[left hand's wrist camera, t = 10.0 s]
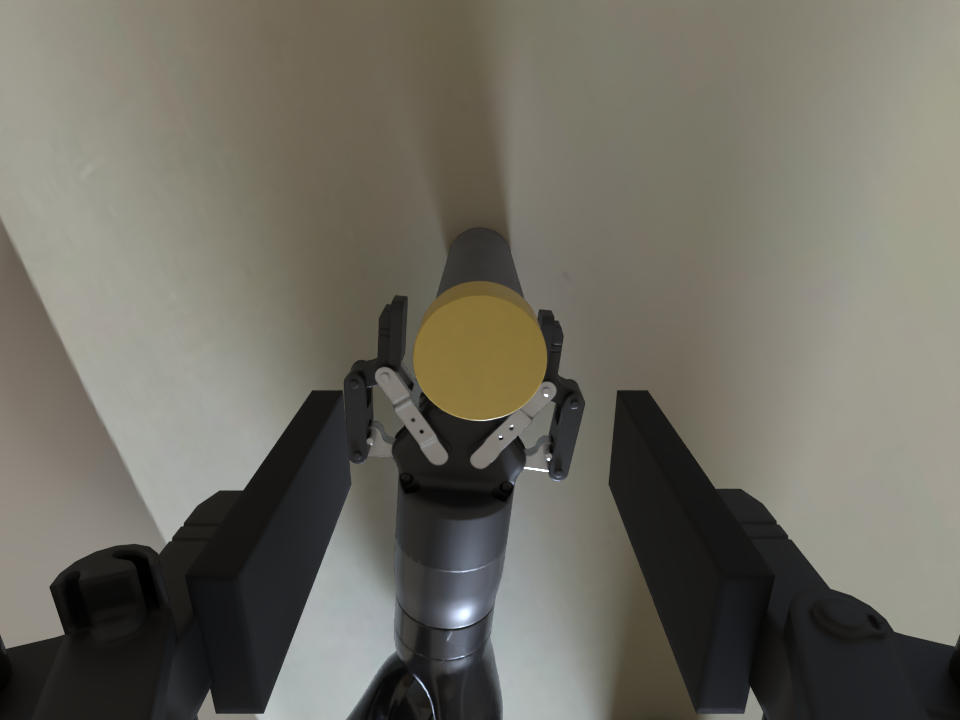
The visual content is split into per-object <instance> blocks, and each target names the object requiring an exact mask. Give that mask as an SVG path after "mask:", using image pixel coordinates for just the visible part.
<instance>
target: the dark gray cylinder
mask: <svg viewBox="0 0 960 720" xmlns="http://www.w3.org/2000/svg"><path fill="white" fill-rule="evenodd" d="M473 281H487V282H493V283H497V284H501V285H503V286H506V287H508V288H510V289H512V290H513V291H515V292H516V293H518V294H519V295H520V296H521V297H523V298H524V296H523V292H522V289H521V286H520V282H519V279H518V275H517V272H516V269H515V265H514V262H513V258H512V255H511V252H510V249H509V246H508V244H507V242H506V241H505V240H504V238H503V237H502V236H500V235H499V234H498V233H496V232H495V231H493V230H490V229H486V228H474V229H470V230H467V231H465V232H464V233H462V234H461V235H459V236H458V237H457V238H456V240H455V241H454V242H453V244H452V246H451V248H450V252H449V255H448V259H447V262H446V265H445V269H444V272H443V276H442V279H441V282H440V286H439V289H438V293H437V296H436V298H437V297H439V296H440V295H441V294H442V293H444V292H445V291H447V290H448V289H450V288H452V287H454V286H457V285H459V284H462V283H467V282H473Z"/></svg>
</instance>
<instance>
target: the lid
mask: <svg viewBox="0 0 960 720" xmlns="http://www.w3.org/2000/svg"><path fill="white" fill-rule="evenodd" d="M413 366H414V371H415V375H416V378H417V380H418V383H419V385H420V387H421V388H422V390H423V392H424V393H425V394H426V396H427V397H428V398H429V399H430V400H431V401H432V402H433V403H434V404H435V405H437V406H438V407H439V408H441V409H442V410H444V411H445V412H447V413H449V414H451V415H454V416H456V417H459V418H463V419H468V420H478V421H483V420H492V419H497V418H501V417H504V416H506V415H509V414H511V413H513V412H515V411H516V410H518V409H519V408H521V407H522V406H523V405H525V404H526V403H527V402H528V401H529V400H530V399H531V398H532V397H533V396H534V394H535V393H536V391H537V390H538V388H539V387H540V385H541V383H542V380H543V378H544V375H545V371H546V366H547V349H546V344H545V340H544V337H543V334H542V331H541V328H540V325H539V322H538V320H537V317H536V315H535V313H534V311H533V309H532V308H531V307H530V305H529V304H528V303H527V302H526V300H525V299H524V298H523V297H521V296H520V295H519V294H518V293H516V292H515V291H513V290H512V289H510V288H508V287H506V286H503V285H501V284H497V283H493V282H487V281H473V282H467V283H462V284H459V285H457V286H454V287H452V288H450V289H448V290H447V291H445V292H444V293H442V294H441V295H440V296H439V297H437V298H436V299H435V300H434V301H433V303H432V304H431V305H430V306H429V308H428V309H427V311H426V313H425V315H424V317H423V319H422V322H421V325H420V328H419V331H418V334H417V337H416V340H415V344H414V349H413Z"/></svg>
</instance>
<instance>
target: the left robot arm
mask: <svg viewBox="0 0 960 720" xmlns="http://www.w3.org/2000/svg"><path fill="white" fill-rule="evenodd" d="M350 486H351V475H350V464H349V453H348V442H347V431H346V421H345V410H344V399H343V390H312V392H311V393H310V395H309V396H308V398H307V399H306V401H305V402H304V403H303V405H302V406H301V408H300V409H299V411H298V412H297V414H296V415H295V416H294V418H293V419H292V421H291V422H290V424H289V425H288V427H287V428H286V429H285V431H284V432H283V434H282V435H281V437H280V438H279V440H278V441H277V442H276V444H275V445H274V447H273V448H272V450H271V451H270V453H269V454H268V456H267V457H266V458H265V460H264V461H263V463H262V464H261V466H260V467H259V469H258V470H257V471H256V473H255V474H254V476H253V477H252V479H251V480H250V482H249V483H248V484H247V486H246V487H245V489H244V490H243V491H218V492H217V493H215V494H214V495H212V496H211V497H210V498H208V499H207V500H205V501H204V502H202V503H201V504H199V505H198V506H197V507H196V508H195V510H194V511H193V512H192V513H191V515H190V516H189V517H188V518H187V520H186V521H185V522H184V526H183V527H180V529H179V530H178V531H177V532H176V534H175V535H174V536H173V537H172V541H169V543H168V544H167V545H166V546H165V548H164V549H163V550H162V551H161V553H160V554H159V555H158V553H157V552H156V551H154V550H153V549H152V548H151V547H148V546H143V545H138V544H129V545H119V546H114V547H110V548H107V549H104V550H100V551H96V552H94V553H92V554H90V555H88V556H86V557H84V558H82V559H80V560H78V561H76V562H74V563H73V564H72V565H70V566H69V567H68V568H67V569H65V570H64V571H62V572H61V573H60V574H59V575H58V576H57V578H56V579H55V580H54V582H53V583H52V584H51V585H50V590H51V593H52V596H53V599H54V602H55V605H56V608H57V611H58V614H59V617H60V620H61V623H62V626H63V630H64V633H65V635H62V636H59V637H55V638H51V639H47V640H42V641H38V642H34V643H30V644H25V645H21V646H17V647H12V648H8V649H5V646H4V643H3V641H2V638H1V636H0V720H198V717H197V713H198V711H199V709H200V707H201V705H202V703H203V701H204V699H205V697H206V695H207V693H208V691H209V689H211V694H212V698H213V703H214V707H215V711H216V714H264V711H265V709H266V706H267V704H268V701H269V698H270V696H271V693H272V690H273V688H274V685H275V683H276V680H277V677H278V675H279V672H280V670H281V667H282V664H283V662H284V659H285V656H286V654H287V651H288V649H289V646H290V643H291V641H292V638H293V636H294V633H295V630H296V628H297V625H298V622H299V620H300V617H301V615H302V612H303V609H304V607H305V604H306V602H307V599H308V596H309V594H310V591H311V588H312V586H313V583H314V581H315V578H316V575H317V573H318V570H319V568H320V565H321V562H322V560H323V557H324V554H325V552H326V549H327V547H328V544H329V541H330V539H331V536H332V534H333V531H334V528H335V526H336V523H337V520H338V518H339V515H340V513H341V510H342V507H343V505H344V502H345V500H346V497H347V494H348V492H349V489H350ZM609 486H610V489H611V492H612V494H613V497H614V500H615V502H616V505H617V507H618V510H619V513H620V515H621V518H622V520H623V523H624V526H625V528H626V531H627V534H628V536H629V539H630V541H631V544H632V547H633V549H634V552H635V554H636V557H637V560H638V562H639V565H640V568H641V570H642V573H643V575H644V578H645V581H646V583H647V586H648V588H649V591H650V594H651V596H652V599H653V602H654V604H655V607H656V609H657V612H658V615H659V617H660V620H661V622H662V625H663V628H664V630H665V633H666V636H667V638H668V641H669V643H670V646H671V649H672V651H673V654H674V656H675V659H676V662H677V664H678V667H679V670H680V672H681V675H682V677H683V680H684V683H685V685H686V688H687V690H688V693H689V696H690V698H691V701H692V704H693V706H694V709H695V711H696V714H744V712H745V707H746V703H747V698H748V694H749V689H750V686H751V688H752V690H753V692H754V694H755V696H756V698H757V700H758V702H759V704H760V706H761V708H762V710H763V716H762V720H960V636H959V638H958V641H957V643H956V646H955V647H954V646H950V645H945V644H941V643H937V642H932V641H928V640H924V639H919V638H915V637H911V636H907V635H903V634H900V633H896V632H894V631H893V629H892V628H891V626H890V625H889V623H888V622H887V620H886V619H885V618H884V617H883V616H881V615H880V614H879V613H878V612H877V611H876V610H874V609H873V608H872V607H871V606H869V605H867V604H866V603H864V602H862V601H860V600H858V599H857V598H855V597H853V596H851V595H848V594H845V593H842V592H839V591H835V590H832V589H830V588H829V587H828V585H827V584H826V583H825V582H824V580H823V579H822V578H821V577H820V575H819V574H818V573H817V572H816V570H815V569H814V568H813V566H812V565H811V564H810V563H809V561H808V560H807V559H806V558H805V556H804V555H803V554H802V553H801V551H800V550H799V549H798V548H797V546H796V545H795V544H794V543H793V541H792V540H789V539H788V535H787V534H786V532H785V531H784V530H783V529H782V527H781V526H780V525H777V521H776V520H775V519H774V517H773V516H772V515H771V514H770V512H769V511H768V510H767V509H766V507H765V506H764V505H763V504H762V503H761V502H759V501H758V500H756V499H755V498H753V497H752V496H750V495H749V494H748V493H746V492H745V491H743V490H742V489H715V487H714V486H713V484H712V483H711V482H710V480H709V479H708V477H707V476H706V474H705V473H704V471H703V470H702V469H701V467H700V466H699V464H698V463H697V461H696V460H695V458H694V457H693V456H692V454H691V453H690V451H689V450H688V448H687V447H686V445H685V444H684V442H683V441H682V440H681V438H680V437H679V435H678V434H677V432H676V431H675V429H674V428H673V427H672V425H671V424H670V422H669V421H668V419H667V418H666V416H665V415H664V414H663V412H662V411H661V409H660V408H659V406H658V405H657V403H656V402H655V401H654V399H653V398H652V396H651V395H650V393H649V392H648V390H617V399H616V410H615V421H614V431H613V442H612V453H611V464H610V475H609Z"/></svg>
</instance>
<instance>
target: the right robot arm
mask: <svg viewBox="0 0 960 720" xmlns="http://www.w3.org/2000/svg"><path fill="white" fill-rule="evenodd" d="M407 305H408V297H407V296H398V295H395V297H394V299H393V301H392V304H391V305H390V304H387V305H386V306H385V308H384V310H383V311H382V314H381V316H380V318H379V336H378V357H377V358H375V359H373V360H369V361H365V360H358V361H356V362H355V363H354V364H353V366H352V368H351V371H350V373H349V374H348V375H347V376H346V378H345V380H344V396H345V415H346V431H347V442H348V453H349V460H350V461H351V462H353V463H356V464H360V463H363V462H365V460H366V459H367V456H378V457H393V459H394V461H395V462H396V464H397V467H398V471H399V479H398V497H397V516H396V534H395V554H394V571H395V580H396V604H395V620H394V640H395V646H396V652H395V653H393V654H392V655H391V656H390V657H389V658H388V659H387V660H386V661H385V662H384V664H383V665H382V666H381V668H380V669H379V670H378V672H377V674H376V675H375V677H374V678H373V680H372V682H371V683H370V685H369V686H368V688H367V690H366V691H365V693H364V694H363V696H362V698H361V699H360V701H359V702H358V704H357V705H356V706H355V708H354V709H353V711H352V712H351V713H350V715H349V716H348V718H347V719H346V720H503V703H502V694H501V688H500V682H499V677H498V672H497V667H496V662H495V656H494V651H493V647H492V643H491V639H490V634H491V628H492V620H493V613H494V605H495V598H496V594H497V590H498V587H499V584H500V581H501V577H502V572H503V566H504V559H505V551H506V544H507V537H508V530H509V522H510V515H511V508H512V500H513V493H514V486H515V481H516V479H517V477H518V475H519V474H520V472H521V471H522V470H523V469H524V468H527V469H534V470H541V471H548V473H549V476H550V478H551V479H552V480H555V481H561V480H564V479H565V478H566V477H567V475H568V471H569V467H570V463H571V459H572V455H573V451H574V447H575V443H576V439H577V435H578V431H579V427H580V422H581V418H582V414H583V410H584V406H585V401H584V398H583V396H582V393H581V391H580V389H579V386H578V384H577V382H576V381H574V380H572V379H564V378H562V377H560V376H559V375H558V369H559V362H560V356H561V349H562V343H563V332H562V328H561V326H560V324H559V321H555V320H554V315H553V313H552V311H551V310H541V309H540V310H539V313H538V322H539V325H540V328H541V331H542V334H543V337H544V340H545V344H546V349H547V366H546V371H545V375H544V378H543V380H542V383H541V385H540V387H539V388H538V390H537V391H536V393H535V394H534V396H533V397H532V398H531V399H530V400H529V401H528V402H527V403H526V404H525V405H523V406H522V407H521V408H519V409H518V410H516V411H515V412H513V413H511V414H509V415H506V416H504V417H501V418H497V419H492V420H483V421H478V420H468V419H463V418H459V417H456V416H454V415H451V414H449V413H447V412H445V411H444V410H442V409H441V408H439V407H438V406H437V405H435V404H434V403H433V402H432V401H431V400H430V399H429V398H428V397H427V396H426V394H425V393H424V392H423V390H422V388H421V387H420V385H419V383H418V380H417V379H415V378H413V376H412V375H411V373H410V372H409V371H408V369H407V368H406V366H405V365H404V364H403V362H402V360H403V357H404V354H405V343H406V324H407ZM377 385H379V386H380V387H381V388H382V390H383V391H384V392H385V394H386V395H387V396H388V398H389V399H390V401H391V402H392V404H393V406H394V410H395V412H396V414H397V415H398V417H399V418H400V419H401V421H402V422H403V423H404V426H403V427H402V429H401V430H400V431H399V432H398V433H397V434H396V436H395V437H390V436H388V435H387V434H386V433H385V431H384V427H383V425H382V424H381V423H380V422H379V421H374V420H373V391H372V387H373V386H377ZM549 401H553V402H555V403H556V405H555V409H554V414H553V418H552V423H551V427H550V431H549V436H546V435H544V436H542V437H540V438H539V439H538V441H537V443H536V445H535V446H534V447H532V448H530V449H525V447H524V444H523V442H522V441H521V439H520V438H519V436H518V435H519V434H520V433H521V432H522V431H523V430H524V429H525V428H526V427H528V426H529V424H530V423H531V422H532V419H533V417H534V416H535V415H536V414H537V413H538V412H539V411H540V410H541V409H542V408H543V407H544V406H545V405H546V404H547V403H548V402H549Z"/></svg>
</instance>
